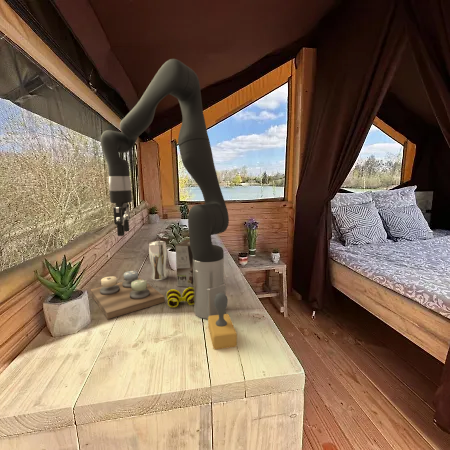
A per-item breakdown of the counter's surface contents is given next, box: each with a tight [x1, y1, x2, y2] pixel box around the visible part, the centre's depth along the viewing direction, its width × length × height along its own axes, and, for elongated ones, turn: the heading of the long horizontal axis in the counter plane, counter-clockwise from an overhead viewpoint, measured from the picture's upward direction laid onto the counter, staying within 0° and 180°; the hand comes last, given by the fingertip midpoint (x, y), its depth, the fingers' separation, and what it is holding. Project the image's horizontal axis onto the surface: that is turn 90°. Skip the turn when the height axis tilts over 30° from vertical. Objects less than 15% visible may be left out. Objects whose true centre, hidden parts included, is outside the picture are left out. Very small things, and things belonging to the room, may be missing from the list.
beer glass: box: [148, 240, 168, 282], centre depth 111 cm, size 7×7×15 cm
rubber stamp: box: [207, 293, 238, 350], centre depth 70 cm, size 10×6×12 cm, turn 11°
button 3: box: [123, 270, 139, 281], centre depth 100 cm, size 5×5×2 cm
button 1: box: [100, 275, 118, 287], centre depth 95 cm, size 5×5×2 cm
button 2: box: [131, 279, 148, 291], centre depth 91 cm, size 5×5×2 cm
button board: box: [90, 277, 165, 320], centre depth 94 cm, size 22×18×3 cm
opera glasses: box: [166, 286, 194, 308], centre depth 89 cm, size 10×5×5 cm, turn 106°
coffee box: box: [175, 240, 194, 288], centre depth 106 cm, size 9×6×16 cm
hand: (123, 233), depth 101 cm, fingers open, 8 cm apart
